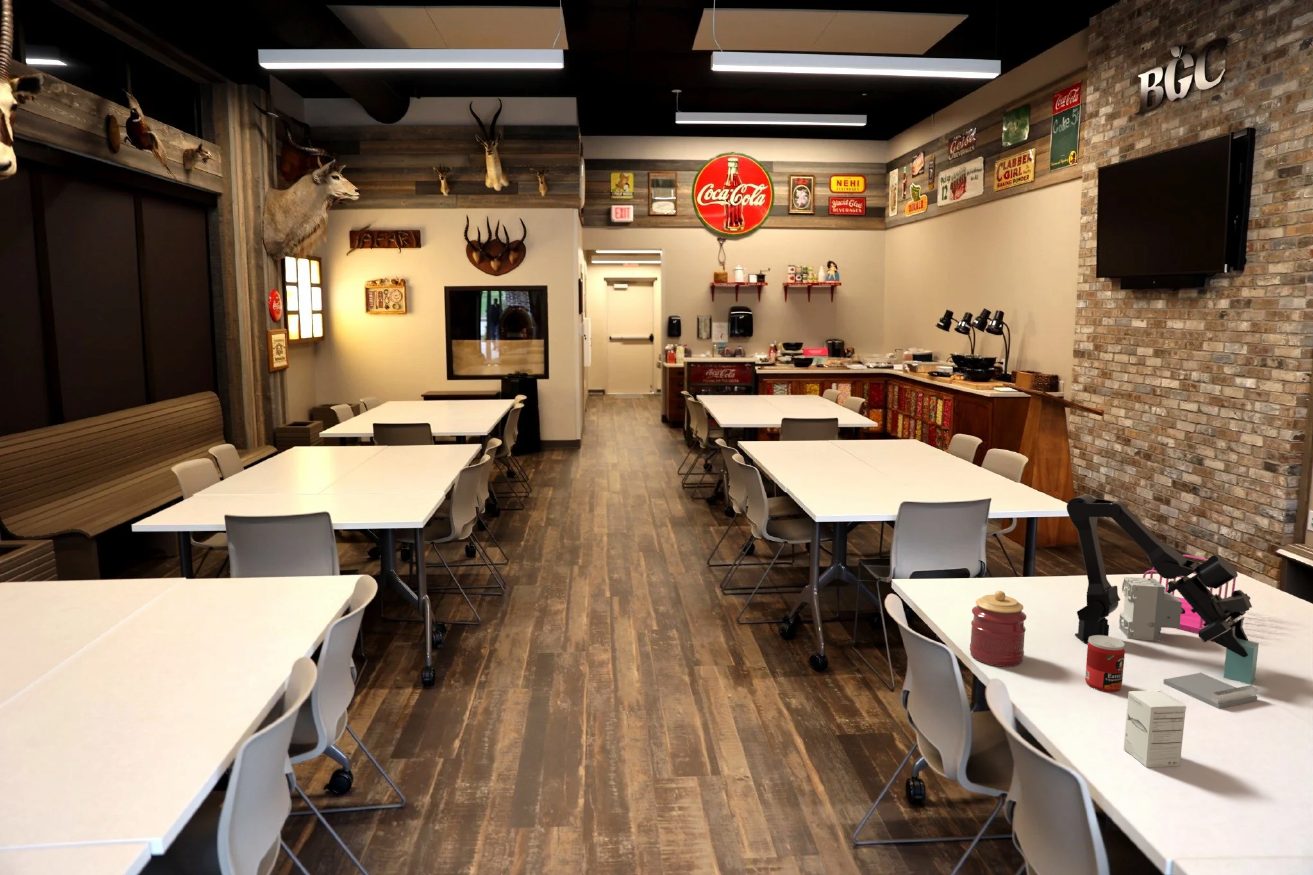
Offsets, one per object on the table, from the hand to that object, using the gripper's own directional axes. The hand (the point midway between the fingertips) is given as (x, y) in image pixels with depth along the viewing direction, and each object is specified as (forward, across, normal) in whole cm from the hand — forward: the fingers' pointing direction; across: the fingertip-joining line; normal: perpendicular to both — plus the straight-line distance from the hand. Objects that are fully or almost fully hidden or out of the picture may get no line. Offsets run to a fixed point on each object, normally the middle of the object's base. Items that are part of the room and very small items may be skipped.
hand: (1248, 653), depth 207 cm
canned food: (-11, -28, +21) cm, 37 cm away
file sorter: (-12, +39, +22) cm, 46 cm away
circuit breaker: (-13, +16, +23) cm, 31 cm away
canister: (-29, -30, +39) cm, 57 cm away
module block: (+4, 0, +6) cm, 7 cm away
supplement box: (+2, -57, +7) cm, 58 cm away
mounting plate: (+2, -14, +8) cm, 16 cm away
